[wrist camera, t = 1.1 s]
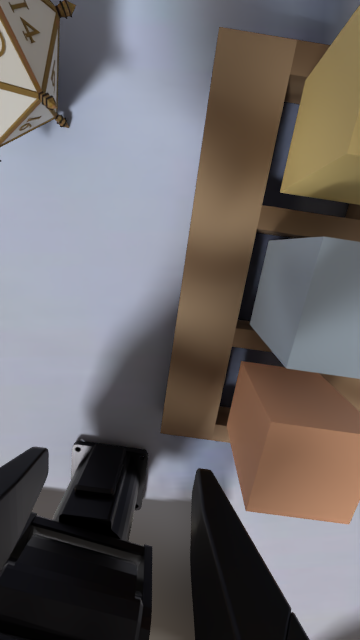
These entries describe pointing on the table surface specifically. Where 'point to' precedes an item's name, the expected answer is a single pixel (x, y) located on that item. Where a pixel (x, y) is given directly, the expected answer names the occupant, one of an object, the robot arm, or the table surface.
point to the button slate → (311, 304)
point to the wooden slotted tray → (237, 223)
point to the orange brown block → (294, 444)
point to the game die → (29, 65)
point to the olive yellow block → (329, 125)
